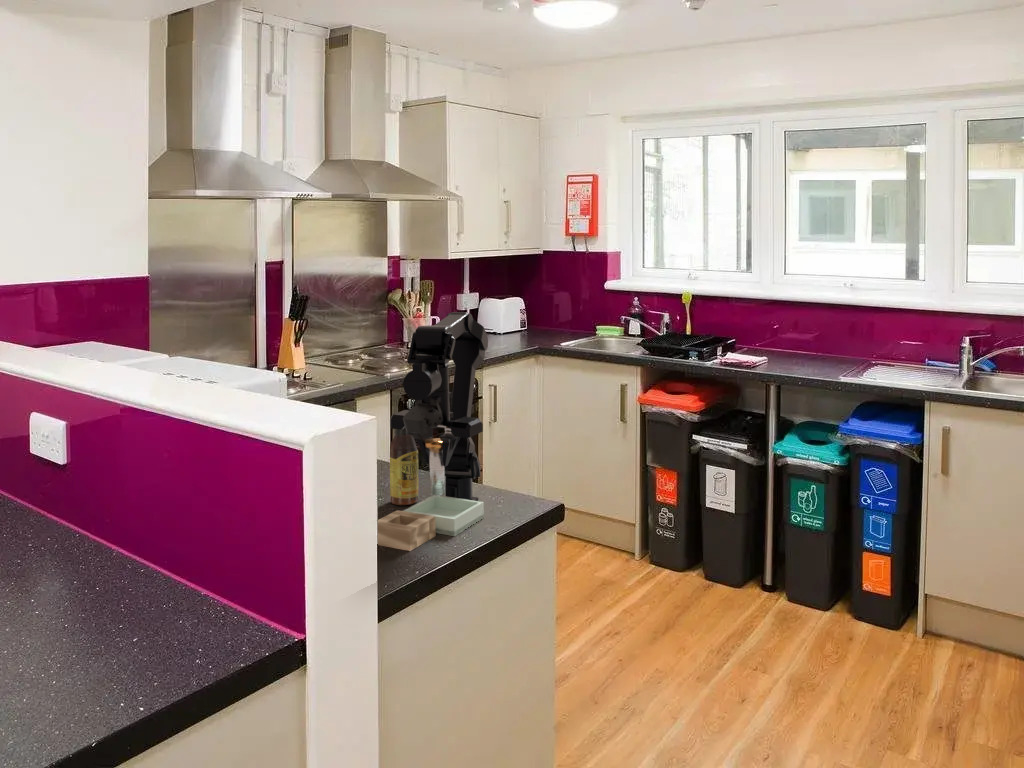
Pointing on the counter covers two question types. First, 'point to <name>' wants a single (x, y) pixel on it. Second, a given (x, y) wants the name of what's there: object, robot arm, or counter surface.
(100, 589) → the counter surface
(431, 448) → the orange-capped jar
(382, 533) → the block
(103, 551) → the counter surface
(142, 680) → the counter surface
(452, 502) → the sage tray
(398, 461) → the sauce bottle
